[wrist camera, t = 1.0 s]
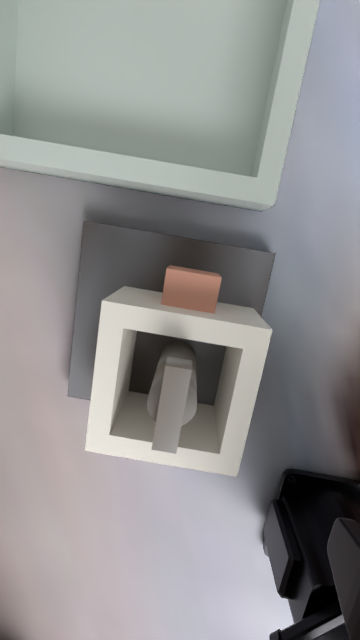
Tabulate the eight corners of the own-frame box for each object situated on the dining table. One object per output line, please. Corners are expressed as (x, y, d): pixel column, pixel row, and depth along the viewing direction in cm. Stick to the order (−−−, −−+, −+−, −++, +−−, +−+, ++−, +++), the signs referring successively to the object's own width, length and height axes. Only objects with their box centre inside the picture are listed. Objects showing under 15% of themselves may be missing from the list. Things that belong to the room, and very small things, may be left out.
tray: (333, -125, 14) (368, -218, 11) (261, 211, 18) (274, 205, 15) (13, -179, 14) (-33, -285, 11) (0, 166, 18) (-38, 152, 15)
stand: (271, 252, 18) (317, 259, 11) (233, 416, 20) (253, 504, 14) (89, 221, 18) (27, 209, 11) (73, 389, 20) (13, 462, 14)
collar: (260, 278, 17) (281, 290, 13) (227, 424, 19) (237, 477, 15) (128, 256, 17) (106, 260, 13) (109, 403, 19) (84, 450, 15)
